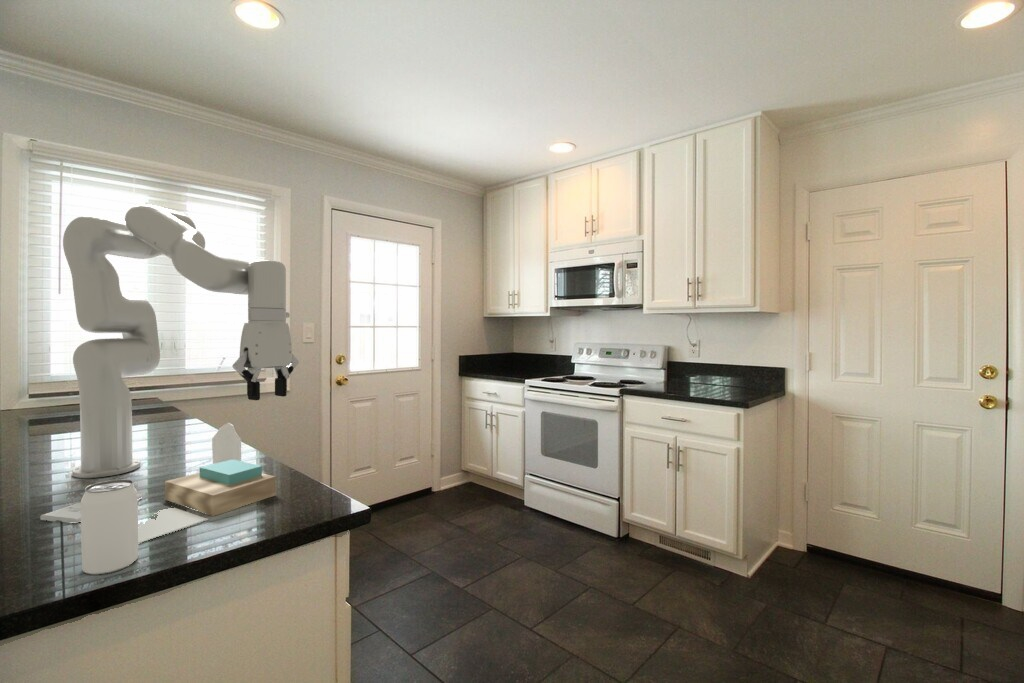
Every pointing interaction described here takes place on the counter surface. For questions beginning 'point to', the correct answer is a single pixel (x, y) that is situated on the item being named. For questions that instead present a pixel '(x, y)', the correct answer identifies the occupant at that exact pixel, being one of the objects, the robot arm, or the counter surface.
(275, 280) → the robot arm
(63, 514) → the external hard drive
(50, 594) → the counter surface
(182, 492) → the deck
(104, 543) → the can
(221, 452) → the white tall lump
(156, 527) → the mat
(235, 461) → the teal sticky note pad
